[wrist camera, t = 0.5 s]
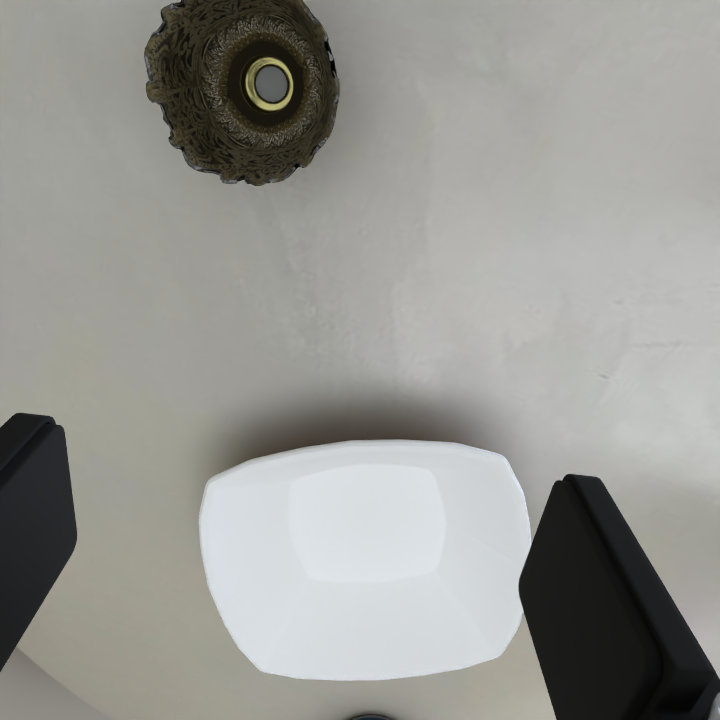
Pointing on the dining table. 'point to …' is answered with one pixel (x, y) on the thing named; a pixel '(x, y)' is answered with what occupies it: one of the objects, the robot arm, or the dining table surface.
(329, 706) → the dining table surface
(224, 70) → the dark bronze dome
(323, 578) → the bowl
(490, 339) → the dining table surface
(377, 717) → the soda can
